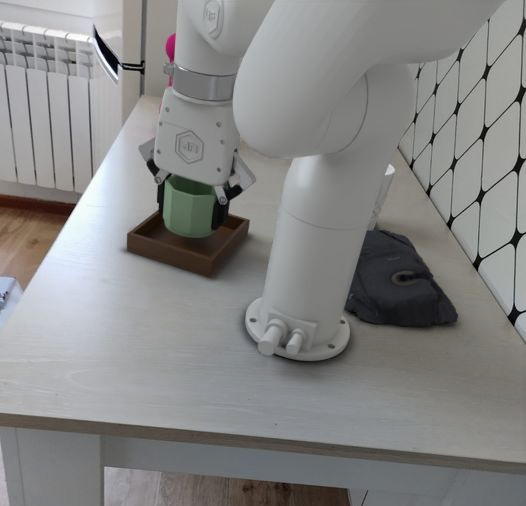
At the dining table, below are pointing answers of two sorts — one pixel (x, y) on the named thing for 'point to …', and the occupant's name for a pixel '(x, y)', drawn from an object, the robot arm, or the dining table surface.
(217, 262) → the tray
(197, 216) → the top tub
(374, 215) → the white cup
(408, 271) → the dark slate chunk
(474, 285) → the dining table surface
